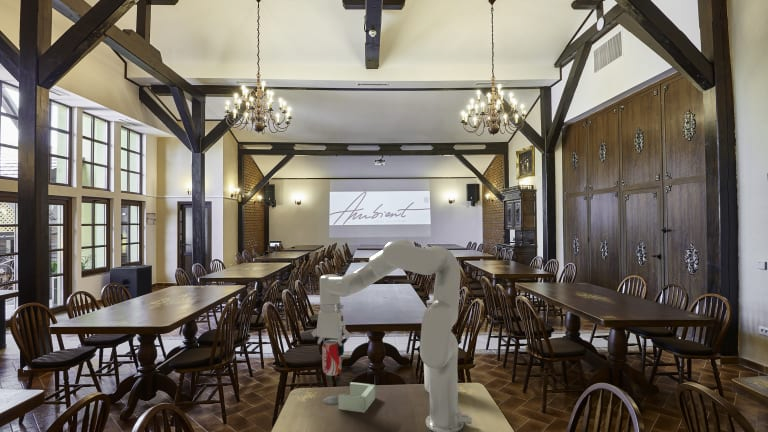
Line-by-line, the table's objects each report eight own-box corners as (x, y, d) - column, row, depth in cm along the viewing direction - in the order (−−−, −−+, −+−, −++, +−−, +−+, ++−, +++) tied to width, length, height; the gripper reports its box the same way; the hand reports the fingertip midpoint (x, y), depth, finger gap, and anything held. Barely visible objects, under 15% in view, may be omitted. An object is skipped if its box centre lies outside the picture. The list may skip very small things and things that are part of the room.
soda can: (338, 377, 151) (337, 344, 151) (320, 376, 153) (319, 344, 153) (343, 369, 158) (342, 338, 158) (326, 369, 160) (325, 338, 160)
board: (367, 400, 158) (367, 396, 158) (355, 415, 146) (355, 411, 146) (329, 396, 163) (329, 392, 163) (315, 410, 151) (315, 406, 151)
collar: (375, 397, 157) (375, 384, 157) (364, 412, 145) (364, 398, 145) (351, 395, 160) (351, 382, 160) (338, 409, 148) (338, 395, 148)
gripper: (355, 306, 156) (356, 353, 156) (314, 304, 162) (315, 349, 162) (347, 311, 149) (348, 359, 149) (304, 308, 155) (306, 355, 155)
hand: (331, 354), depth 156 cm, fingers closed on soda can, 7 cm apart
